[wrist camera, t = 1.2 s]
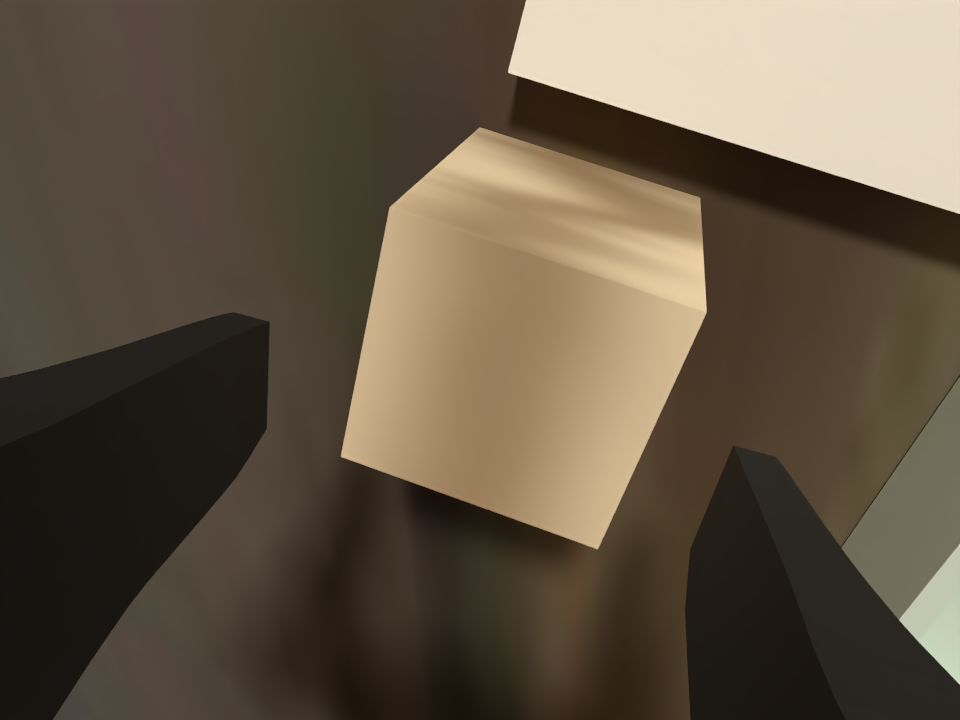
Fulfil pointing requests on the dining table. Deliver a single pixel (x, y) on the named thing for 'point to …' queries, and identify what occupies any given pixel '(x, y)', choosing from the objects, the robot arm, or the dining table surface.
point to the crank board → (773, 78)
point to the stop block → (526, 332)
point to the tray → (919, 538)
